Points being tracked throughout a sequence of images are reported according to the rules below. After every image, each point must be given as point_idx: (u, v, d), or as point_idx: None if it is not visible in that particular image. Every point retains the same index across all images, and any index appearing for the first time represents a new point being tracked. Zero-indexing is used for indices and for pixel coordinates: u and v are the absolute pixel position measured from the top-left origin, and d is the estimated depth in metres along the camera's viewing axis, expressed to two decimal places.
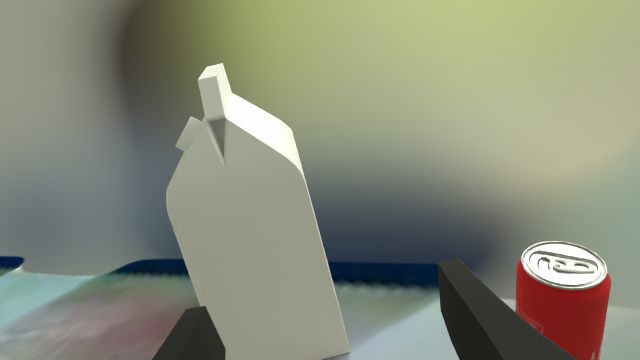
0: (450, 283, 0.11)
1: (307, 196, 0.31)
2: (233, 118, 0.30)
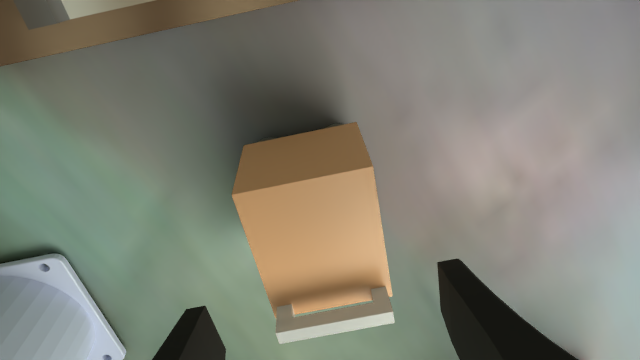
0: (450, 283, 0.11)
1: None
2: None
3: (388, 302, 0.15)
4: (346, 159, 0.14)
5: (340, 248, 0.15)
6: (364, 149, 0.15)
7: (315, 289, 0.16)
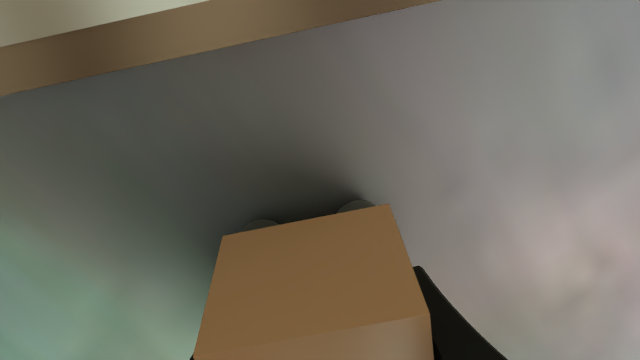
0: None
1: None
2: None
3: None
4: (382, 288, 0.09)
5: None
6: (409, 268, 0.09)
7: None
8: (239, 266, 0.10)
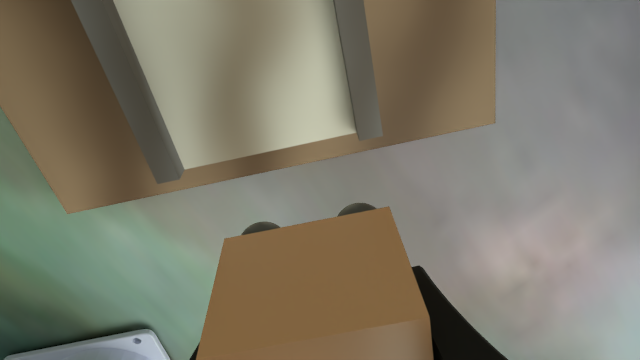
0: None
1: None
2: None
3: None
4: (382, 291, 0.09)
5: None
6: (409, 271, 0.09)
7: None
8: (241, 269, 0.11)
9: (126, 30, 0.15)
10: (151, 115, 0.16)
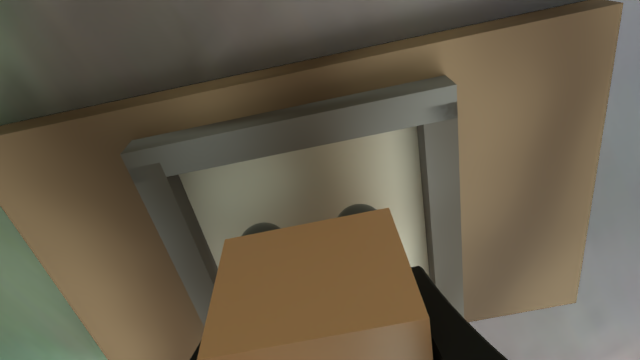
0: None
1: None
2: None
3: None
4: (383, 292, 0.09)
5: None
6: (409, 272, 0.09)
7: None
8: (241, 270, 0.11)
9: (205, 236, 0.15)
10: None
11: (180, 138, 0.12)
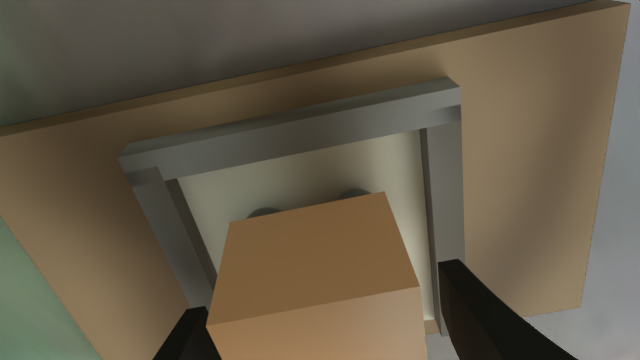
0: (450, 283, 0.11)
1: None
2: None
3: None
4: (377, 265, 0.10)
5: None
6: (402, 247, 0.10)
7: None
8: (246, 248, 0.11)
9: (203, 240, 0.14)
10: None
11: (178, 141, 0.12)
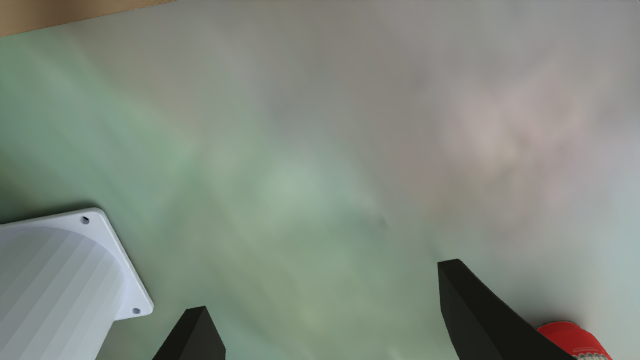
0: (450, 283, 0.11)
1: None
2: None
3: None
4: None
5: None
6: None
7: None
8: None
9: None
10: None
11: None
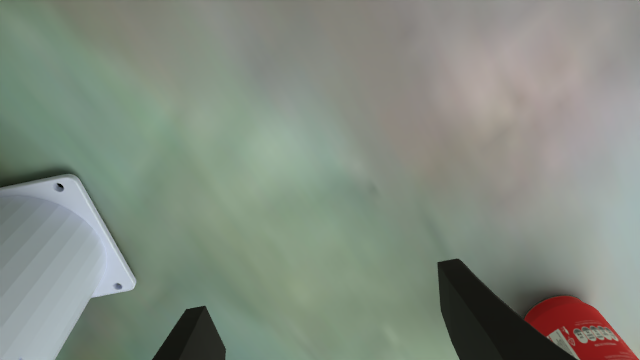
0: (450, 283, 0.11)
1: None
2: None
3: None
4: None
5: None
6: None
7: None
8: None
9: None
10: None
11: None
